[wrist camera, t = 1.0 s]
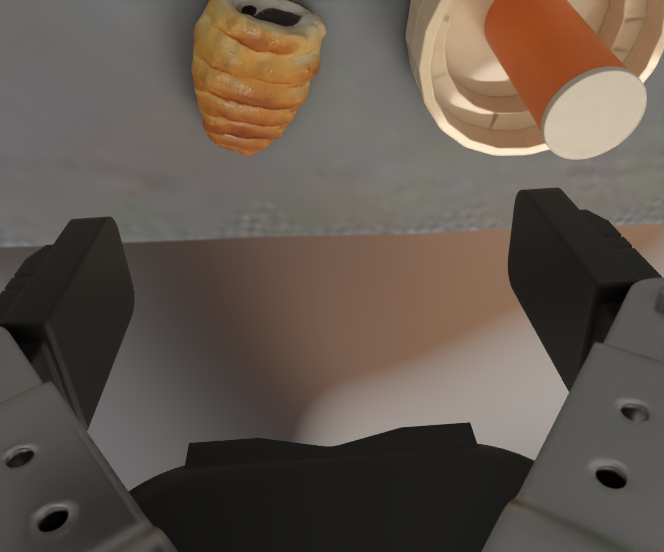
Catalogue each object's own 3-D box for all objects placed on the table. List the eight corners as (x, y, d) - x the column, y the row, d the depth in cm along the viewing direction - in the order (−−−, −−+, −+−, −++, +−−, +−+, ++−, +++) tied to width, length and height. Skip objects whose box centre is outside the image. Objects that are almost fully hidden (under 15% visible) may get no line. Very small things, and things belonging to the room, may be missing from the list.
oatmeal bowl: (385, -72, 31) (400, -40, 28) (654, -158, 29) (700, -134, 26) (422, 140, 40) (436, 180, 37) (626, 83, 39) (657, 120, 36)
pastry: (287, 147, 39) (290, 184, 37) (179, 127, 38) (175, 164, 35) (329, 4, 33) (336, 37, 30) (202, -29, 31) (199, 3, 29)
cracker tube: (479, -9, 33) (544, 87, 26) (565, -35, 32) (653, 57, 26) (485, 67, 36) (543, 170, 30) (563, 44, 36) (640, 144, 29)
